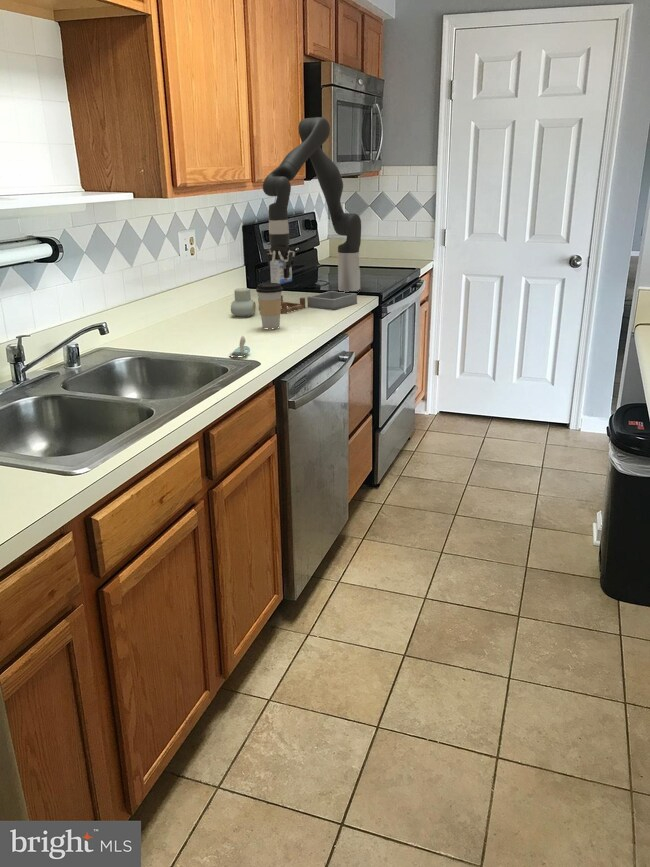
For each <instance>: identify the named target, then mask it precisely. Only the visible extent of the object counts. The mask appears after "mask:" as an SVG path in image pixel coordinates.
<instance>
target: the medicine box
mask: <svg viewBox="0 0 650 867" xmlns="http://www.w3.org/2000/svg"><path fill="white" fill-rule="evenodd" d="M284 260H286V259H284ZM269 268H270V271H269V272H270V283H279V284H281V285H282V284H286V283H290V282H293V271H292V268H293V266H292V267H290V268H289V271H290V276H289V278H284V266H283V263H282V261H281V260H280V259H279V260H274V261H270V266H269Z"/></svg>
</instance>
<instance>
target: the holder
mask: <svg viewBox="0 0 650 867" xmlns="http://www.w3.org/2000/svg"><path fill="white" fill-rule="evenodd" d="M283 298H284V296H283V295H282V294H281V314H283V313H286V314H288V313H287V312H289V313H292V312H291V311H293V312H295V311H294V310H297V311H299V310H298V309H300V310H304V309H306V297H300V298H299V303H298V302H289V301H284V299H283ZM287 306H288V307H287ZM303 308H304V309H303ZM258 310H259V311H260V308H259V307H258Z"/></svg>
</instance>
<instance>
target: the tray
mask: <svg viewBox="0 0 650 867" xmlns="http://www.w3.org/2000/svg"><path fill="white" fill-rule="evenodd" d="M306 298H307V299H306V300H307V308H312V309H321V310H328V311H329V310H330V311H337V310H340V309H343V308H347V307H350V306H353V305H356V304H358V293H345V292H338V291H334V290H330V291H326V292H321V293H318V294H314V295H311V296H307V297H306Z"/></svg>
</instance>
